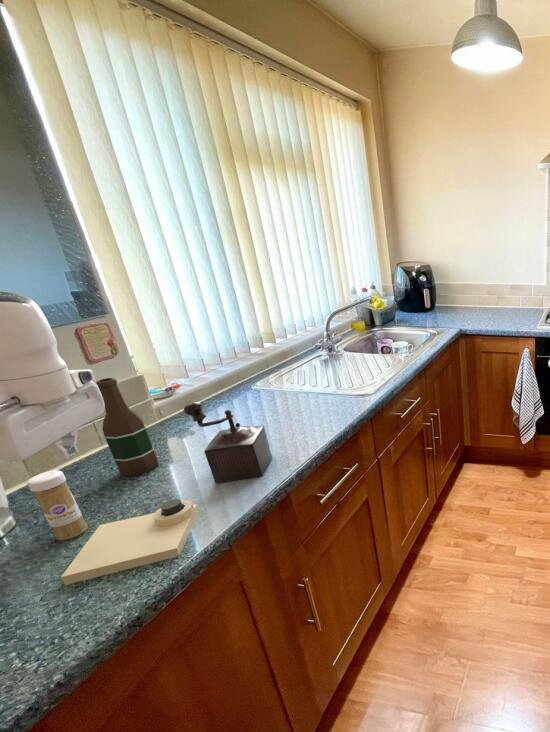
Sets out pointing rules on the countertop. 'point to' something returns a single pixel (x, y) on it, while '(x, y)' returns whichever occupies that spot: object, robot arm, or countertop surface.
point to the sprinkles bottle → (58, 504)
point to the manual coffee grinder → (234, 448)
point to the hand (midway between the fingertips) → (68, 456)
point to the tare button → (171, 507)
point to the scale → (132, 543)
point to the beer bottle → (126, 432)
